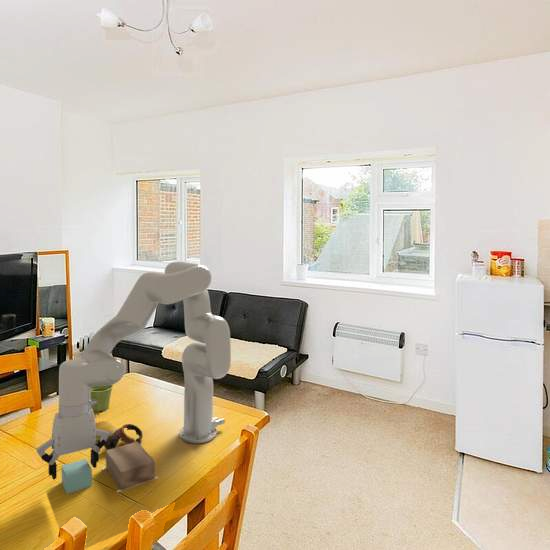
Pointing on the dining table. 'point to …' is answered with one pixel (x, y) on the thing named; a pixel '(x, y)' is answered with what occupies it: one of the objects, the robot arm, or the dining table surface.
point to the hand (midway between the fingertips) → (74, 470)
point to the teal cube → (76, 476)
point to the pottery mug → (123, 436)
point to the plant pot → (101, 397)
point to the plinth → (130, 465)
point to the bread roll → (105, 428)
